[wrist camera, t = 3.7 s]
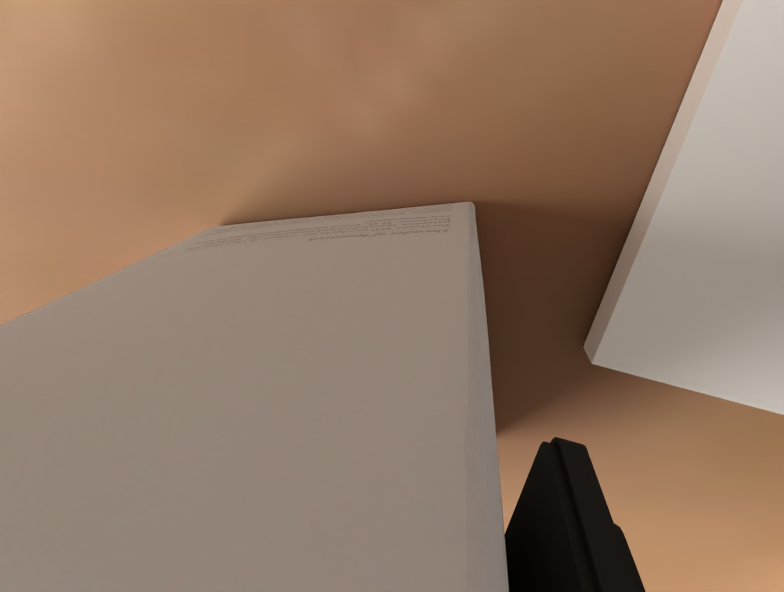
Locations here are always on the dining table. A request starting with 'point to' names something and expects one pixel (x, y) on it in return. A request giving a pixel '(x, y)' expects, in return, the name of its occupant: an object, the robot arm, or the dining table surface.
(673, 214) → the caddy
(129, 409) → the supplement box
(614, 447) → the dining table surface
